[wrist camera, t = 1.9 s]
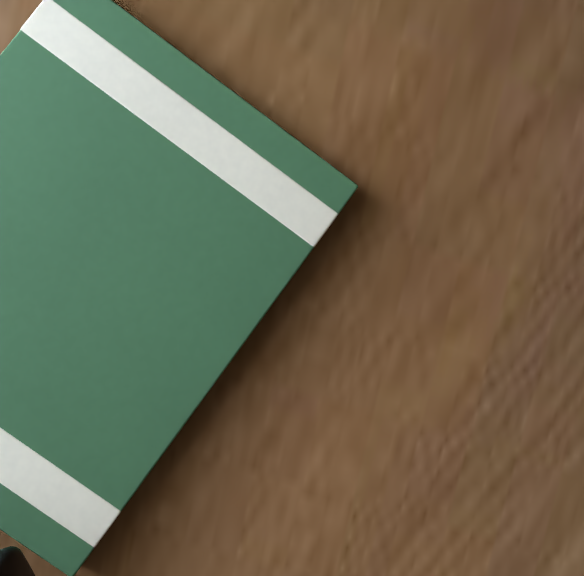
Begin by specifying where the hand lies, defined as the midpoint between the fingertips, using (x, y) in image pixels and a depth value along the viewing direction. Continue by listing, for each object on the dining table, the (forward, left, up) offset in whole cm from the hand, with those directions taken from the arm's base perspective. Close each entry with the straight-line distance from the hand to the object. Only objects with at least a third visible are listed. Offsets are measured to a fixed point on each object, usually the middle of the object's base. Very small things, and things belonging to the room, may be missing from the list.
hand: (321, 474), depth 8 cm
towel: (+1, +9, -14) cm, 17 cm away
